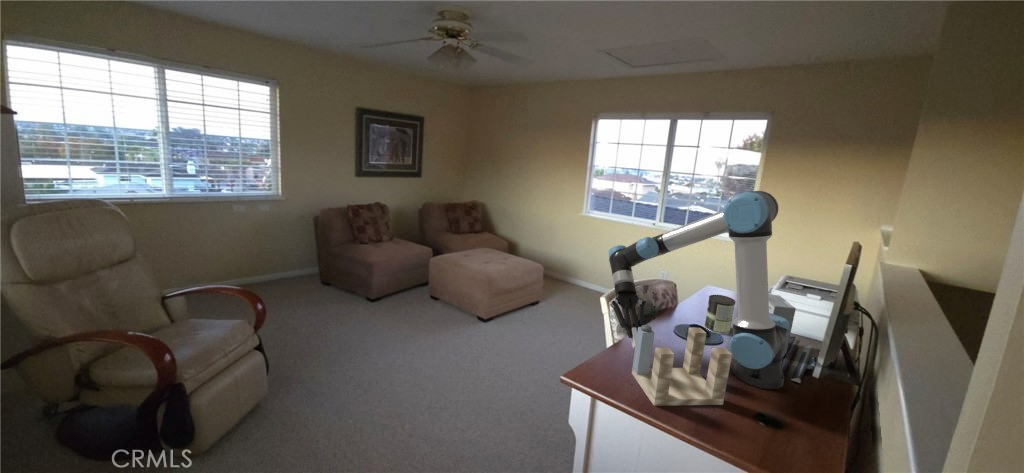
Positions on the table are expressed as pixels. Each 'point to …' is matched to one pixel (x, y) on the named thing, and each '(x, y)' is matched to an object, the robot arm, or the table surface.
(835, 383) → the table surface
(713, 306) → the coffee can
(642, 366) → the pale blue upright post
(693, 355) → the upturned stool
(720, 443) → the table surface
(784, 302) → the hard drive box
